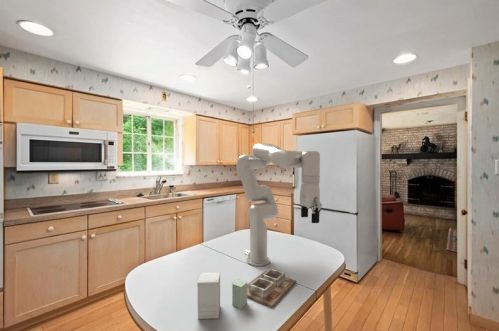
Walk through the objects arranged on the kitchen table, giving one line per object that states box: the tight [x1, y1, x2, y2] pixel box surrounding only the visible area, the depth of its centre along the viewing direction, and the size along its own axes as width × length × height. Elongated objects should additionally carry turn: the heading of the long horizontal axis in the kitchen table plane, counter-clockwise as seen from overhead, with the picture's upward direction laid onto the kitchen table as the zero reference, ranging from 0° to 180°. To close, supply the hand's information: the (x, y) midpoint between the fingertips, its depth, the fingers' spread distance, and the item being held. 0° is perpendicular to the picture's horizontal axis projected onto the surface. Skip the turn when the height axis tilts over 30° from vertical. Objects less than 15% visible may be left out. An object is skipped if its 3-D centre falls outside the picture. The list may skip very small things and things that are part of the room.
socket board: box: [247, 268, 297, 309], centre depth 96 cm, size 16×22×4 cm
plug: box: [231, 279, 248, 310], centre depth 85 cm, size 4×4×8 cm
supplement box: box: [197, 271, 221, 320], centre depth 80 cm, size 7×7×13 cm
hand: (309, 219), depth 96 cm, fingers open, 9 cm apart
